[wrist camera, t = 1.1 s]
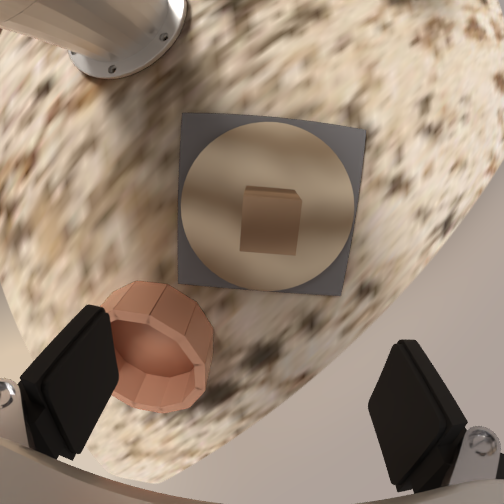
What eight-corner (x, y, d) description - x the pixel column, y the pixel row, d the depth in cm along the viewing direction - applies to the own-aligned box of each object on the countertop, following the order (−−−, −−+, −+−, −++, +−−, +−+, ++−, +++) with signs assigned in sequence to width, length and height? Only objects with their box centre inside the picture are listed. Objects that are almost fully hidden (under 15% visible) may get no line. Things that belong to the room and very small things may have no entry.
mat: (183, 113, 25) (182, 112, 24) (364, 130, 25) (366, 130, 24) (179, 280, 30) (178, 283, 30) (339, 293, 30) (340, 295, 30)
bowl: (97, 275, 30) (69, 301, 25) (214, 288, 31) (204, 321, 25) (113, 367, 35) (96, 398, 29) (212, 383, 35) (206, 419, 29)
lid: (187, 118, 24) (167, 112, 19) (360, 134, 25) (386, 133, 19) (183, 279, 30) (166, 310, 24) (336, 291, 30) (352, 323, 24)
